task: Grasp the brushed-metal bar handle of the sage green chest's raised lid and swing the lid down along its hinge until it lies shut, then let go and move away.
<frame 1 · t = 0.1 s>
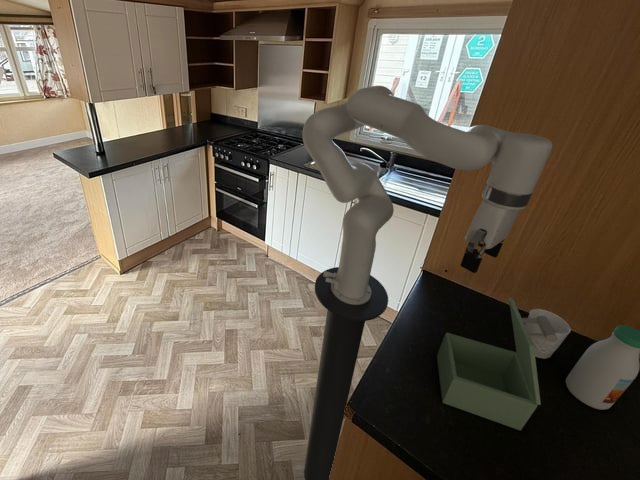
hand: (478, 261, 71), 28 cm above the worktop, tool pointing down, fingers open, 9 cm apart
white cup: (533, 348, 83), on the worktop
chest: (474, 389, 73), on the worktop
lid: (537, 349, 63), point 17 cm above the worktop, hinge at 68.0°
milk bottle: (586, 393, 72), on the worktop
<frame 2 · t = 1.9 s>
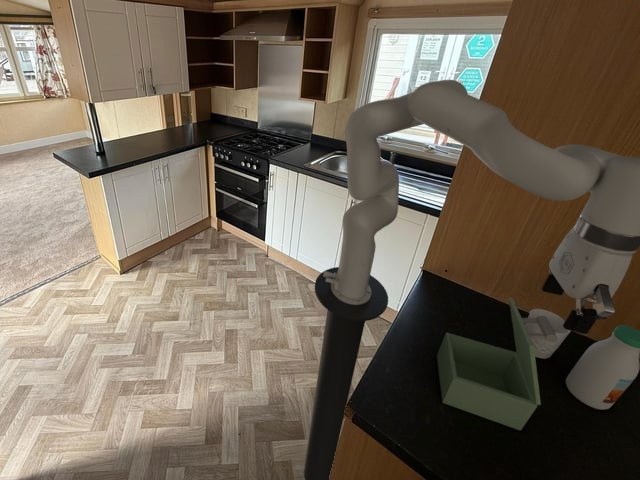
hand: (561, 310, 58), 28 cm above the worktop, tool pointing down, fingers open, 9 cm apart
nothing on the worktop moved.
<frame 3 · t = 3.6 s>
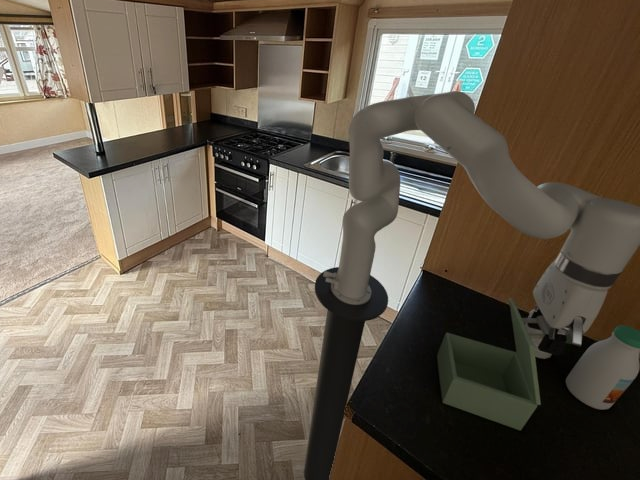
hand: (542, 339, 62), 20 cm above the worktop, tool pointing down, fingers closed on lid, 5 cm apart
lid: (537, 349, 63), point 17 cm above the worktop, hinge at 68.0°, touching gripper
everything else where it was.
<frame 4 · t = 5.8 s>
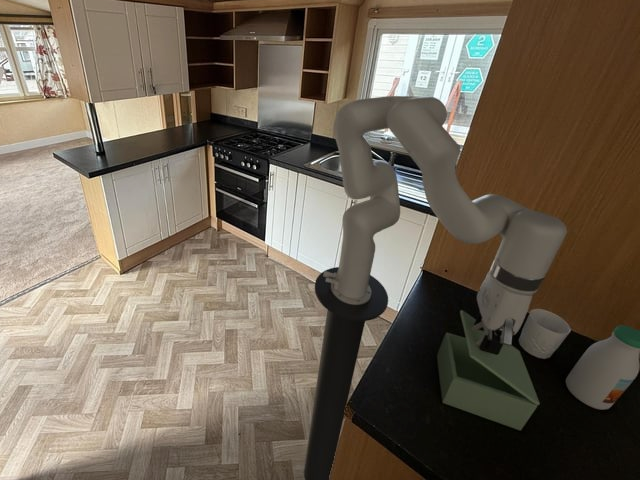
hand: (485, 339, 67), 16 cm above the worktop, tool pointing down, fingers closed on lid, 5 cm apart
lid: (505, 349, 66), point 15 cm above the worktop, hinge at 29.0°, touching gripper
everything else where it was.
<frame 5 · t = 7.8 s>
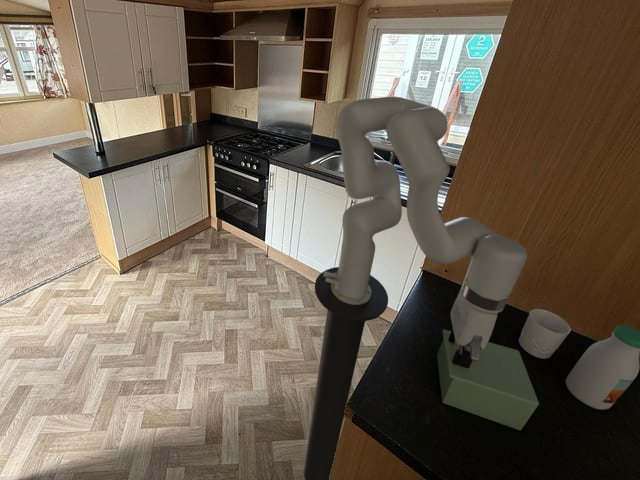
hand: (458, 353, 71), 10 cm above the worktop, tool pointing down, fingers open, 5 cm apart
lid: (488, 356, 68), point 11 cm above the worktop, hinge at -0.2°, touching chest
everything else where it was.
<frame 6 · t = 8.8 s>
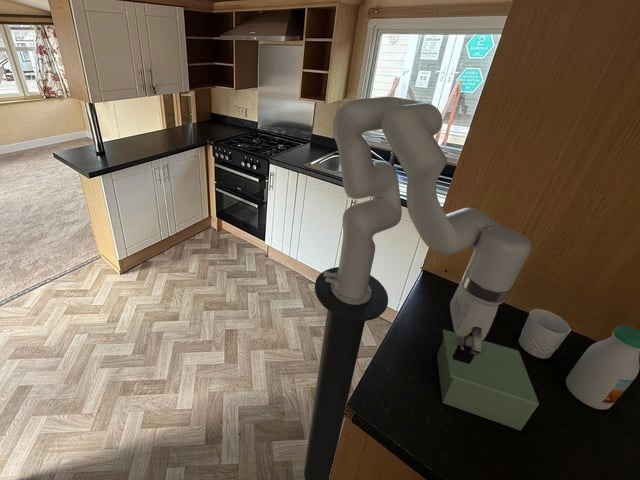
hand: (457, 341, 70), 13 cm above the worktop, tool pointing down, fingers open, 9 cm apart
nothing on the worktop moved.
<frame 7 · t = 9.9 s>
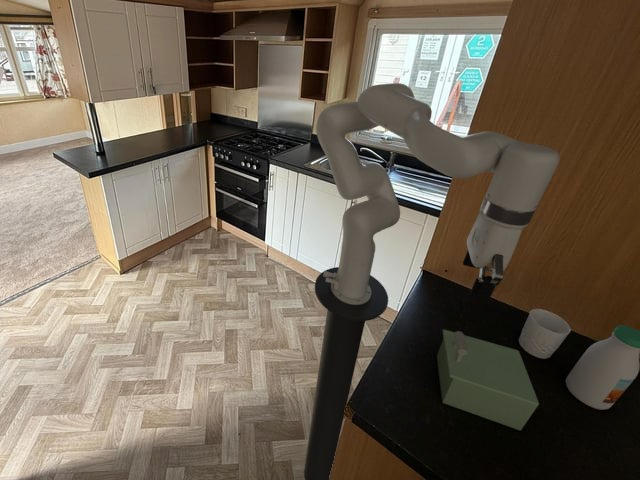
hand: (474, 280, 65), 28 cm above the worktop, tool pointing down, fingers open, 9 cm apart
nothing on the worktop moved.
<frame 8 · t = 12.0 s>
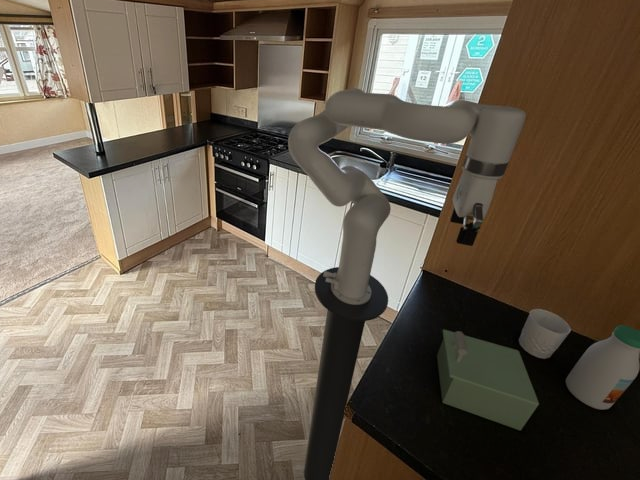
hand: (460, 232, 74), 32 cm above the worktop, tool pointing down, fingers open, 9 cm apart
nothing on the worktop moved.
at the end: lid at +0° (first picture: +68°); the gripper is holding nothing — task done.
